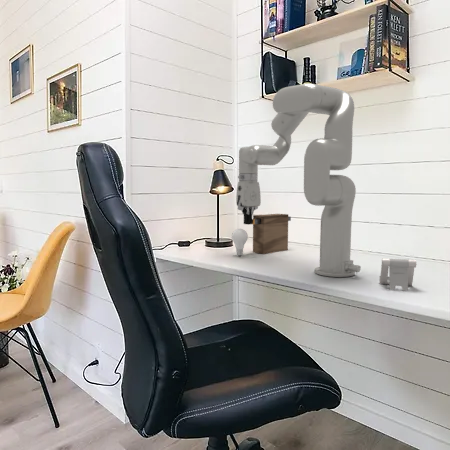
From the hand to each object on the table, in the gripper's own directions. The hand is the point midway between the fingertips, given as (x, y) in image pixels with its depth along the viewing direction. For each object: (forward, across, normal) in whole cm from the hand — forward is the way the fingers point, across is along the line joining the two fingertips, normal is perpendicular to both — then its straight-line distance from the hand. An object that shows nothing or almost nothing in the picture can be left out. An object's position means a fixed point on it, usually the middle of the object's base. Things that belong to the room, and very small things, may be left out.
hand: (247, 224), depth 173 cm
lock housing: (+13, +14, 0) cm, 19 cm away
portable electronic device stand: (+13, -9, -66) cm, 68 cm away
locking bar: (0, +14, 0) cm, 14 cm away
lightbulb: (+13, -5, 0) cm, 14 cm away
